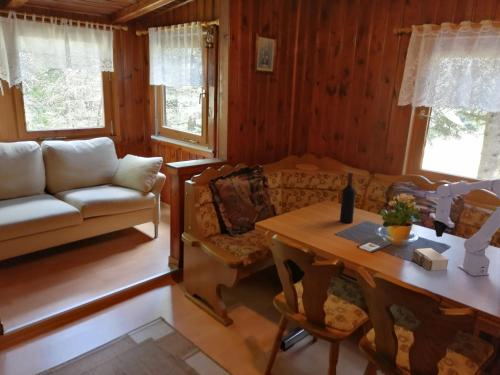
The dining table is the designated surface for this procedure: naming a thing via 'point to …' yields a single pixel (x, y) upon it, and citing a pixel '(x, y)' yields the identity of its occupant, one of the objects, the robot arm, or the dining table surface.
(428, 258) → the cabinet
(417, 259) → the door
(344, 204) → the wine bottle
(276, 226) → the dining table surface
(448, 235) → the dining table surface
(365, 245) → the chocolate bar
